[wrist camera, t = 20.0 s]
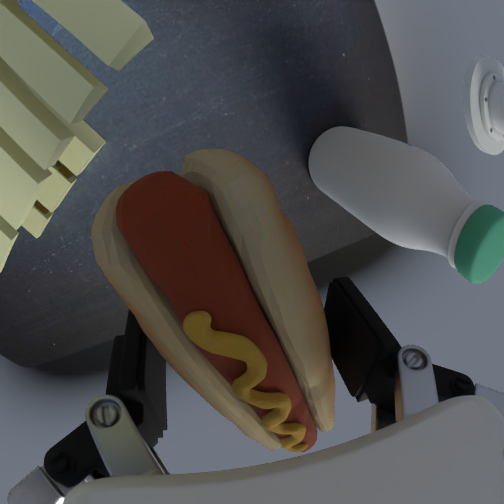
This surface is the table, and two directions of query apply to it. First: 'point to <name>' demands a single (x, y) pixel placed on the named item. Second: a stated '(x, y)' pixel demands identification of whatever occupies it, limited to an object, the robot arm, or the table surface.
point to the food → (224, 293)
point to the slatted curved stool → (53, 103)
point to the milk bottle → (408, 198)
